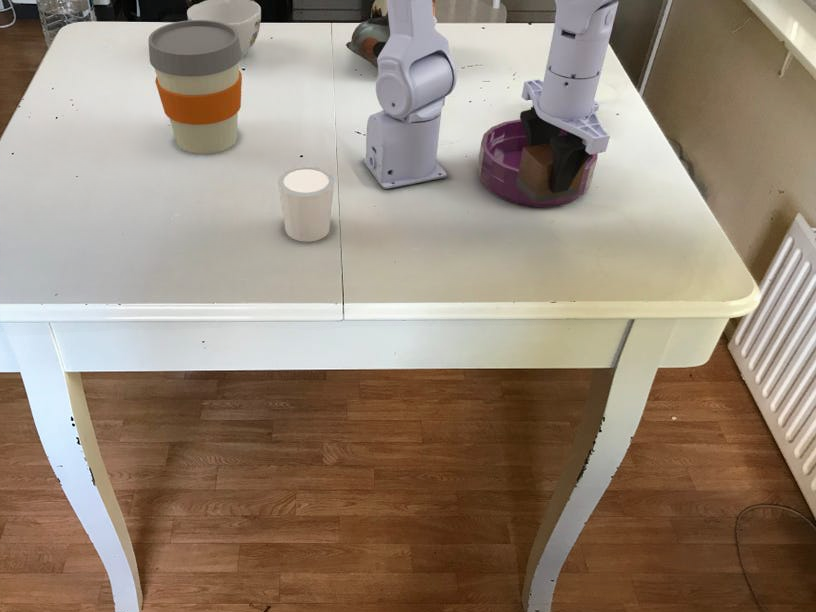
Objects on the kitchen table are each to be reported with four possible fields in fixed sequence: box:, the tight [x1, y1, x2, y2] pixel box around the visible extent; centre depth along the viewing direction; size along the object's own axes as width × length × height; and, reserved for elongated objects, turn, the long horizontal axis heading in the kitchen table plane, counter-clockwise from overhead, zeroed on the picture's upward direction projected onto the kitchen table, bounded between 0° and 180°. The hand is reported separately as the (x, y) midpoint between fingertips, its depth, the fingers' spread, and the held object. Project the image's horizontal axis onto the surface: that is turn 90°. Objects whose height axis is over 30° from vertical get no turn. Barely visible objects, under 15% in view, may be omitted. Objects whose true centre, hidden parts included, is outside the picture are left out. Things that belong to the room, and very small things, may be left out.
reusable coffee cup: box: [148, 19, 243, 155], centre depth 106 cm, size 13×13×15 cm
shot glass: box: [277, 165, 335, 243], centre depth 93 cm, size 7×7×7 cm
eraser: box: [516, 143, 587, 203], centre depth 89 cm, size 6×4×5 cm
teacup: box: [186, 0, 262, 60], centre depth 129 cm, size 15×12×8 cm
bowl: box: [476, 118, 599, 208], centre depth 102 cm, size 15×15×5 cm
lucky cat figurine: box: [345, 0, 438, 70], centre depth 127 cm, size 15×12×14 cm
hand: (548, 180), depth 90 cm, fingers closed on eraser, 4 cm apart
